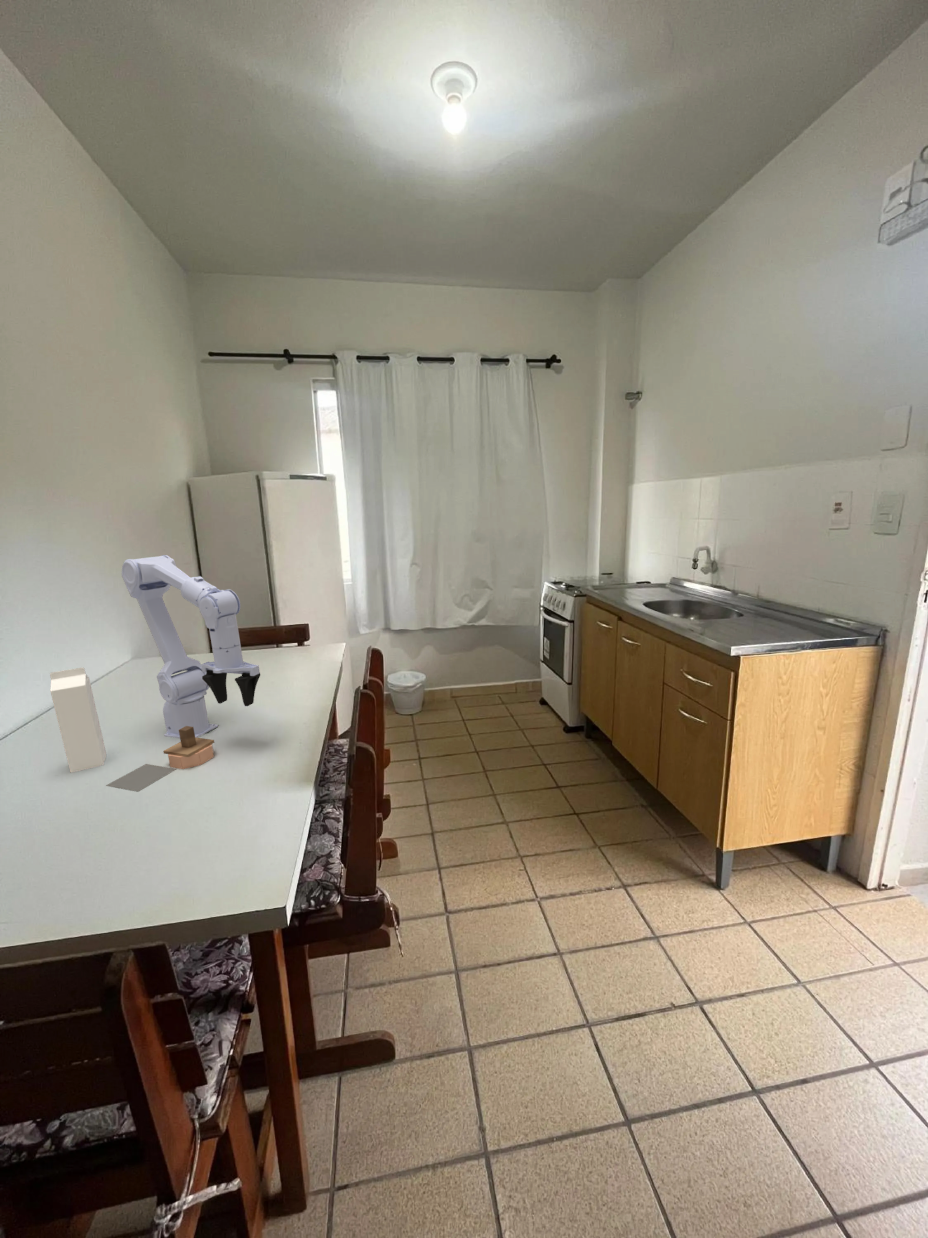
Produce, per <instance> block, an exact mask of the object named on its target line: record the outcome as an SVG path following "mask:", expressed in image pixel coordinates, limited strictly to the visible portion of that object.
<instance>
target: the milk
mask: <svg viewBox="0 0 928 1238" xmlns="http://www.w3.org/2000/svg"><path fill="white" fill-rule="evenodd" d="M49 676H50V689H49V690H50V695H51V700H52V704H53V706H54V711H55V715H56V719H57V724H58V727H59V731H60V736H61V740H62V743H63V744H62V745H63V748H64V751H65V752H64V753H65V756H66V759H67V764H68V767H69V768H68V769H69V771H70V774H71V773H77V772H80V771H83V770H88V769H93V768H96V767H97V768H98V767H100V766H104V765H105V762H106V759H107V755H108V754H107V750H106V745H105V742H104V737H103V733H102V728H101V724H100V720H99V715H98V711H97V706H96V702H95V697H94V693H93V689H92V683H91V680H90V676H89V675H87V674H86V669H85V668H84V667H82V666H81V667H77V668H70V669H63V670H60V671H52V672H50V673H49Z"/></svg>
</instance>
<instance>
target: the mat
mask: <svg viewBox="0 0 928 1238" xmlns="http://www.w3.org/2000/svg"><path fill="white" fill-rule="evenodd" d="M177 770H178V768H172V767H168V766H161V765H155V764H150V763H149V764H148V763H145V764H143V765H141V766H139V767H137V768H136V769H134V770H132V771H130V772H129V773H126V774H124V775H122V776H121V777H119V778H117V779H115V780H113V781H112V782H110V783H108V784H106V785H105V787H111V788H116V789H121V790H126V791H130V792H131V791H132V792H136V793H139V792H140V791H143V790H144V789H145V788H147V787H149V786H150V785H153V784H154V783H156V782H158V781H159V780H161V779H163V778H164V777H166V776H168V775H170V774H171V773H174V772H175V771H177Z"/></svg>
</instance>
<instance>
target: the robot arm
mask: <svg viewBox="0 0 928 1238" xmlns="http://www.w3.org/2000/svg"><path fill="white" fill-rule="evenodd" d="M121 566H122V567H121V577H122V580H123V582H124V584H125V587H126V589H127V591H128V593H129V595H130V597H131V598H133V599H136V601H137V604H138V605H139V608H140V610H141V613H142V615H143V618H144V620H145V623H146V624H147V626H148V629H149V631H150V634H151V636H152V639H153V641H154V643H155V645H156V649H157V650H158V652H159V655H160V656H161V657H160V658H161V660H162V662H163V666H162V668H161V669H160V670H159V672H158V673H157V675H156V679H157V682H158V689H159V693H160V695H161V697H162V699H163V700H165V702H164V704H163V707H162V713H163V714H162V715H163V718H164V724H165V728H166V729H165V730H166V733H164V734H163V735H164V737H168V738H177V739H180V735H179V729H181V728H183V727H185V726H190V727H193V728H194V734H195V737H196V738H200V737H201V736H203V735H204V734H207V733H208V732H211V731H212V730H214V729H216V728H218V727H219V725H218V724H216V723H215V724H214V723H210V722H209V716H208V715H209V714H208V711H207V710H208V709H207V704H206V698H205V696H207V694H208V692H207V691H208V690H209V688H210V690H211V693H212V694H213V696H214V697H215V699H216V702H217V704H218V705H219V704H222V703H224V702H227V701H228V691H227V678H228V677H227V675H228V674H234V675H235V674H236V675H240V676H238V677H236V678H234V682H235V683H236V685H237V686H238V689H239V691H240V694H241V698H242V703H243V705H244V707H248V706H249V707H250V706H251V705H252V704H254V701H255V693H256V692H255V691H256V688H257V684H258V681H259V679H260V678H261V672H260V665H258V664H253V663H251V662H246V661H244V658H243V652H242V645H241V639H240V633H239V627H238V626H239V624H238V619H237V615H238V614H239V612H240V610H241V600H240V598H239V596H238V594H237V593H236V592H235V591H233V590H232V589H230V588H228V589H219V588H218V587H217V586H215V585H213V584H211V583H210V582H208V581H206V580H205V578H204V577H202V576H201V575H198V576H192V577H191V576H189V575H188V574H187V573H185V571H183V570H181V568H178V566H177V564H176V561H175V559H174V558H171V556H169V555H167V554H162V555H160V556H159V555H157V556H149V557H142V558H141V557H140V558H135V559H134V558H128V559H125V560H124V562H123V564H122V565H121ZM171 586H172V587H173V588H175V589H177V590H179V591H180V595H181V597H182V598H183V599H185V600H186V601H187V602H189V603H190V604H191V605H193V606H195V607H197V608H198V609H199V613H200V614H201V616H202V618H203V620H204V624H205V627H206V628H207V629H209V637H210V640H211V641H210V642H211V648H212V649H211V650H212V655H213V660H214V661H206V662H204V663H201V662H200V661H199V660H198V659H195V658H192V657H189V656H188V655H187V652H186V650H185V648H184V645H183V644H182V641H181V639H180V636H179V633H178V632H177V629H176V627H175V625H174V622H173V620H172V618H171V615H170V613H169V611H168V608H167V605H166V603H165V601H164V599H163V598H164V597H163V596H164V594H165V593H167V592H168V591H169V590H170V589H171Z"/></svg>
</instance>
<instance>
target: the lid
mask: <svg viewBox="0 0 928 1238" xmlns="http://www.w3.org/2000/svg"><path fill="white" fill-rule="evenodd" d="M179 735H180V738H179V740H180V742H178V743H175V744H174V745H172V746H170V747H168V748H166V749H164V750H163V752H162V753H163V754H164V755H165V754H166V755H168V754H170V755H177V756H183V757H190V756H192V755H193V754H195V753H197V752H199V751H200V750H202V749H204V748H206V747H207V746H209V745H211V744H213V745H214V743H215V739H212V738H203V737H197V738H196V737H195V734H194V728H193V727H190V726H185V727H183V728H181V729H179Z"/></svg>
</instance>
